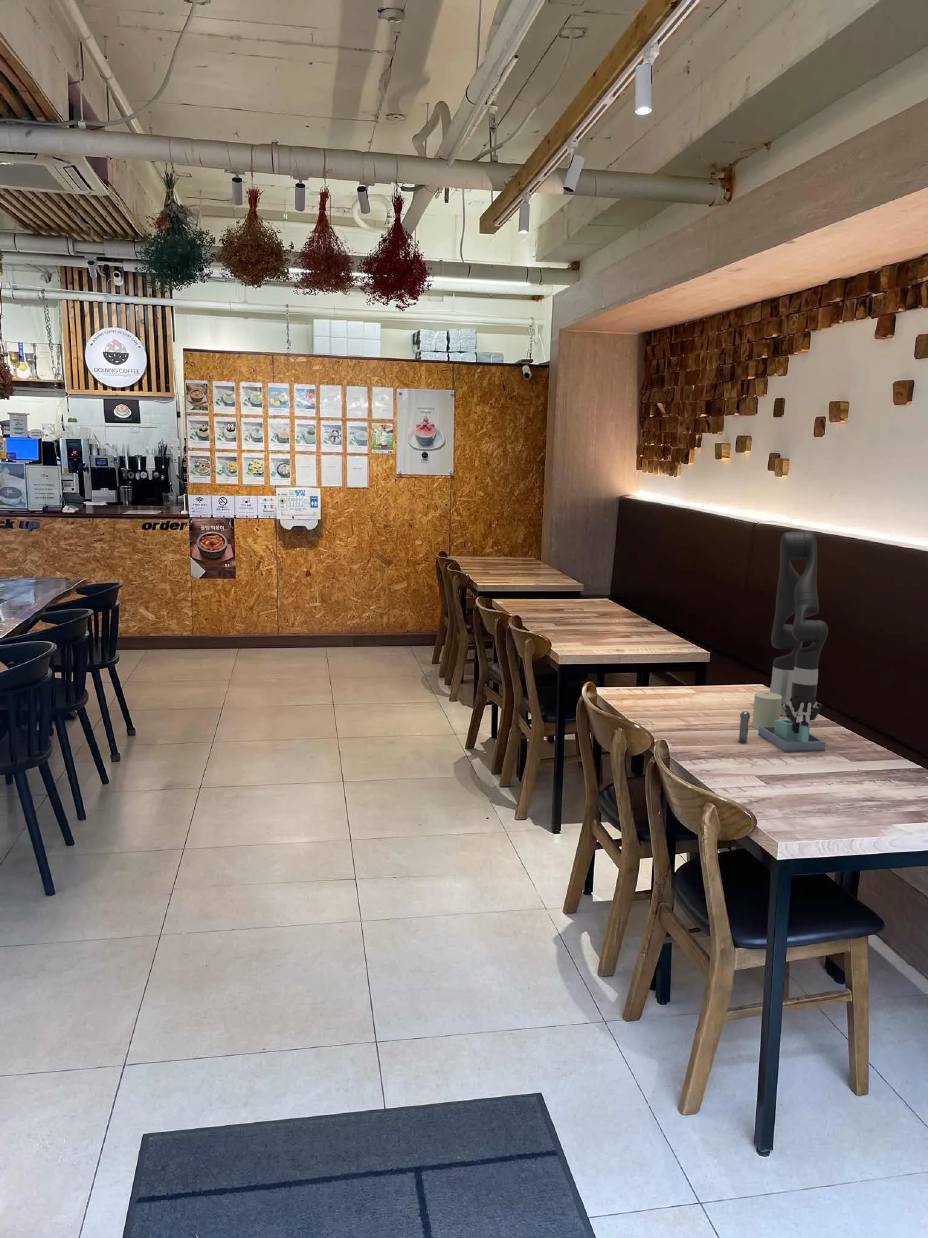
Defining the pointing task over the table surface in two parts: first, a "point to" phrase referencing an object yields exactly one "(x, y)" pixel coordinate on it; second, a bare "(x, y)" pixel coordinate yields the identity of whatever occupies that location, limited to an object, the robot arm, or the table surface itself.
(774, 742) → the tray
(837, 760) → the table surface
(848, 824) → the table surface
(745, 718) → the dark grey peg
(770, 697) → the can
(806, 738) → the teal block with hole
